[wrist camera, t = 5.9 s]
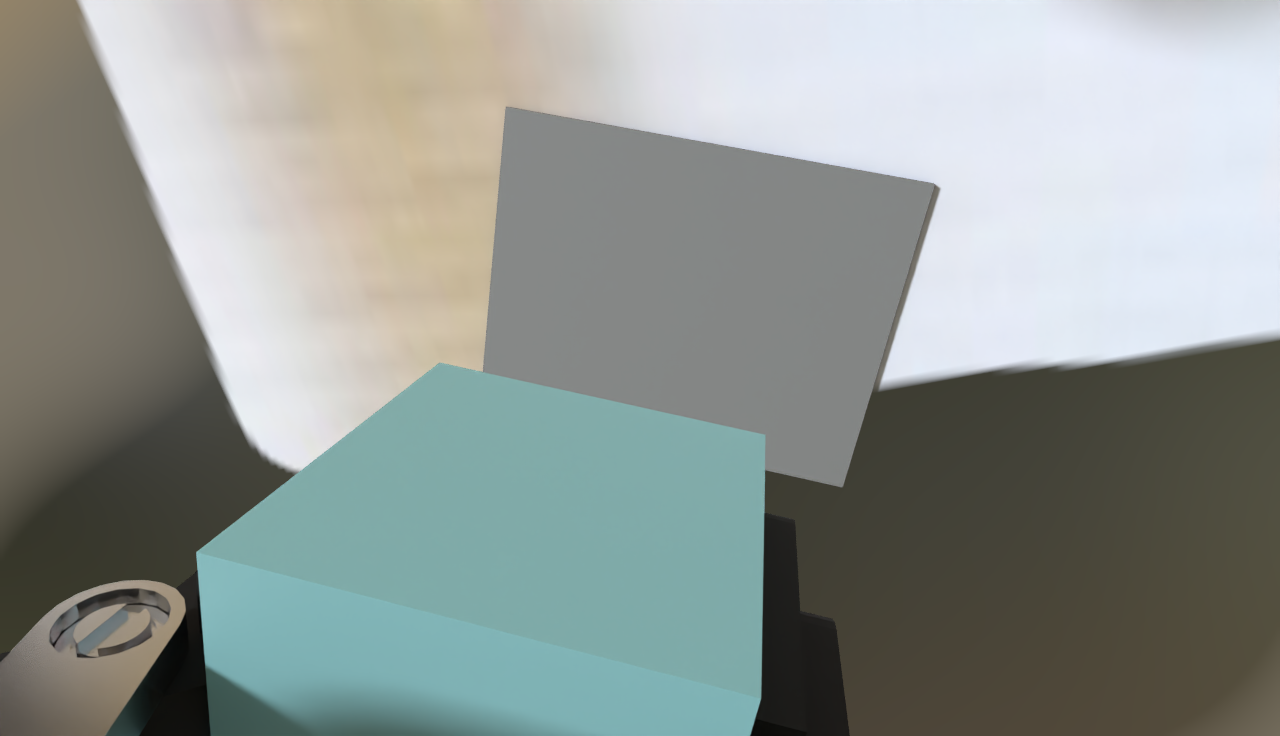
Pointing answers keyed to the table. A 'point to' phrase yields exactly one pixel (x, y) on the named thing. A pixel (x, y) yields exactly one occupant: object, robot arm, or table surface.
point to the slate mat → (699, 281)
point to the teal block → (496, 574)
